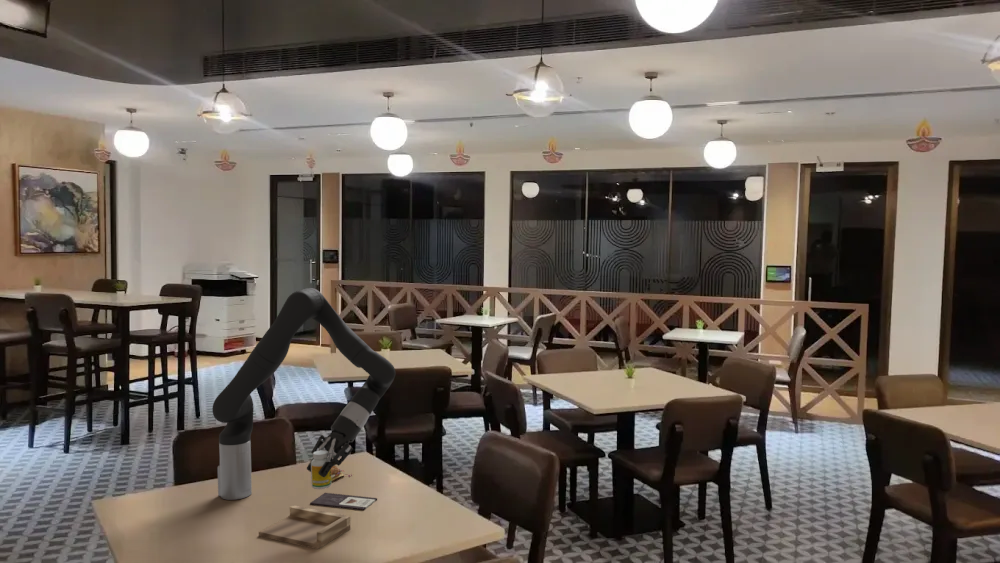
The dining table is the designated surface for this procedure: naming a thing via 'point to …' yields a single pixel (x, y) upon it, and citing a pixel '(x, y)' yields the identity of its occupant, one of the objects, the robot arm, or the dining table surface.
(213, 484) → the dining table surface
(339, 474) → the hamburger
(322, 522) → the wooden tray
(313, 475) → the supplement bottle
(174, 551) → the dining table surface
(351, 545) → the dining table surface
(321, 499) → the chocolate bar
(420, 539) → the dining table surface
